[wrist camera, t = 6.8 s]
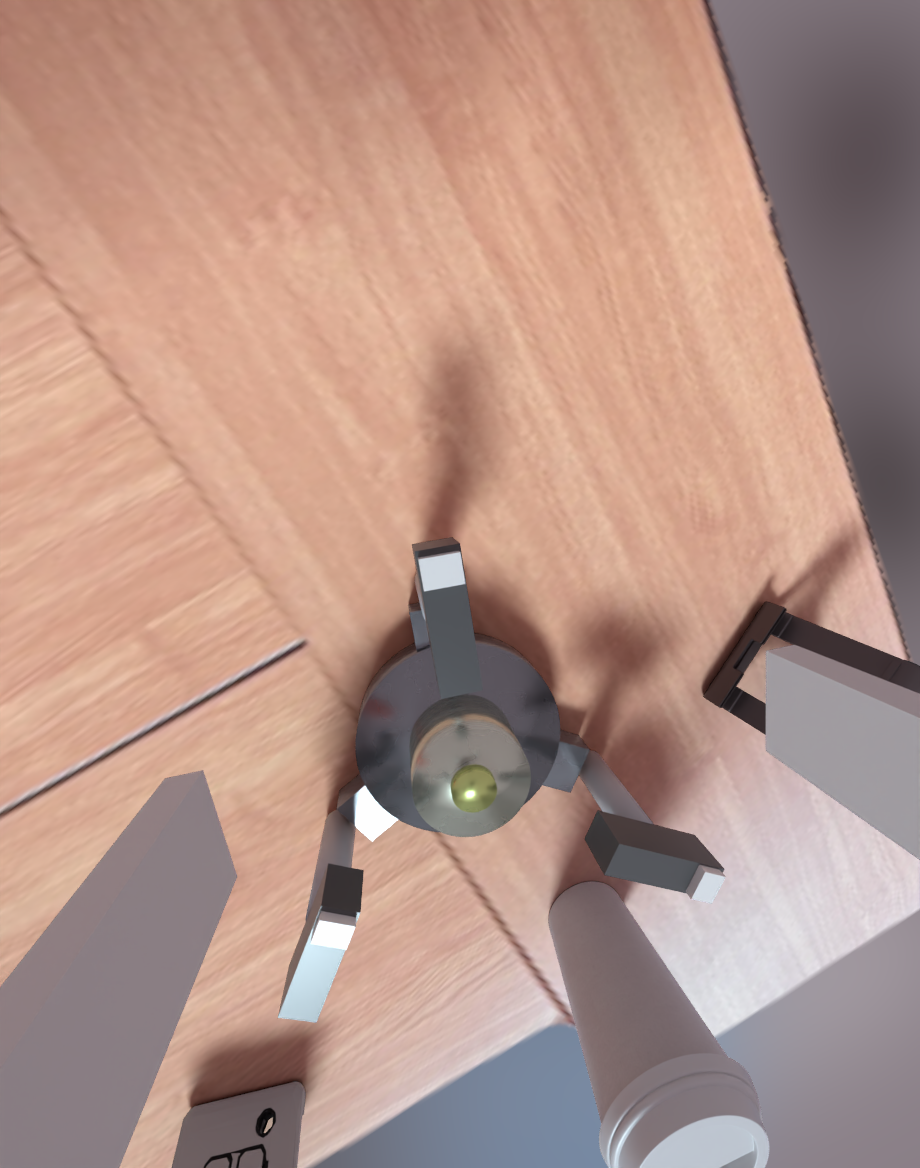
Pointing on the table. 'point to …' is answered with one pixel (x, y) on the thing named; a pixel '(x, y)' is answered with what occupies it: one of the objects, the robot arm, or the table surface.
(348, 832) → the foot screw
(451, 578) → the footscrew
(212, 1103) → the electrical switch
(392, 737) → the levelling base
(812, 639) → the portable electronic device stand
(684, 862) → the foot screw
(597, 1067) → the coffee cup
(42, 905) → the table surface
